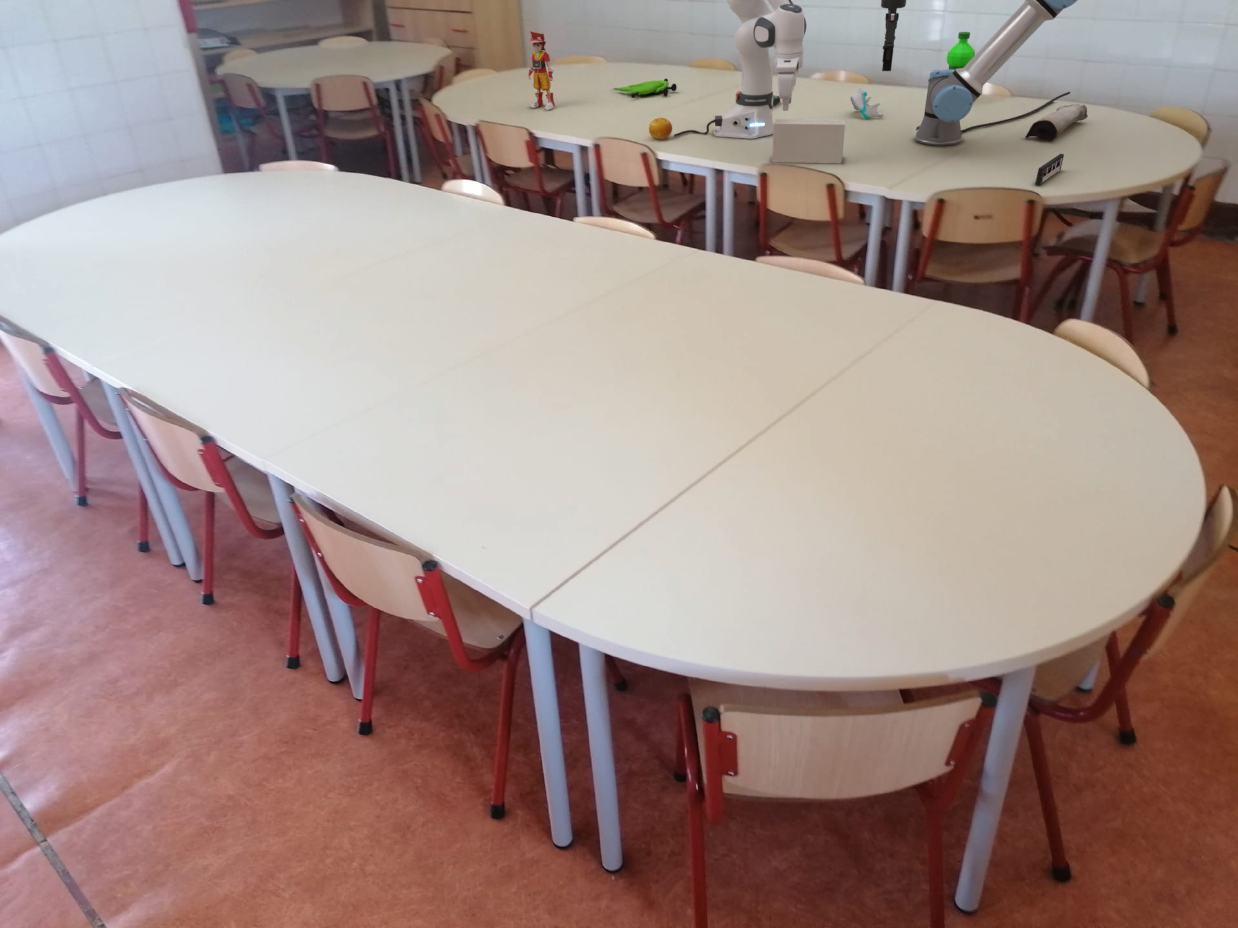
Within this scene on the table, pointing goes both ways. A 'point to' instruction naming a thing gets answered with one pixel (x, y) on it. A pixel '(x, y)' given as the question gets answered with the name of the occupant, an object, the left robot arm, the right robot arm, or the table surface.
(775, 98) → the disk drive
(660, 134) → the fruit
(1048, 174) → the midi keyboard
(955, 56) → the plastic bottle
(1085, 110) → the rolled mat
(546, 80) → the toy
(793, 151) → the box
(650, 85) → the toy
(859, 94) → the anatomical model
